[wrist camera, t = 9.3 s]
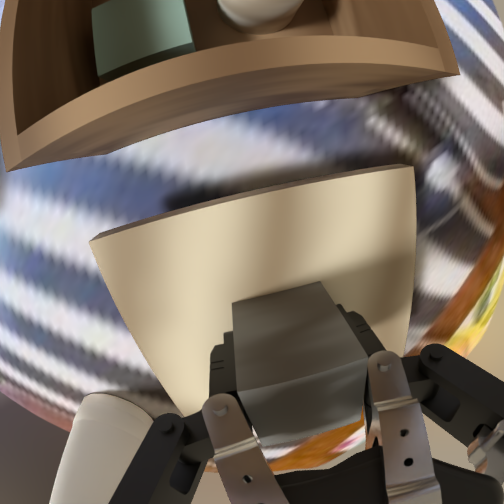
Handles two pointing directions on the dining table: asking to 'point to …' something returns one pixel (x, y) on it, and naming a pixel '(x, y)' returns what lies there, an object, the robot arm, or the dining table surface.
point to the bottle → (99, 449)
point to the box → (194, 64)
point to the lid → (271, 293)
